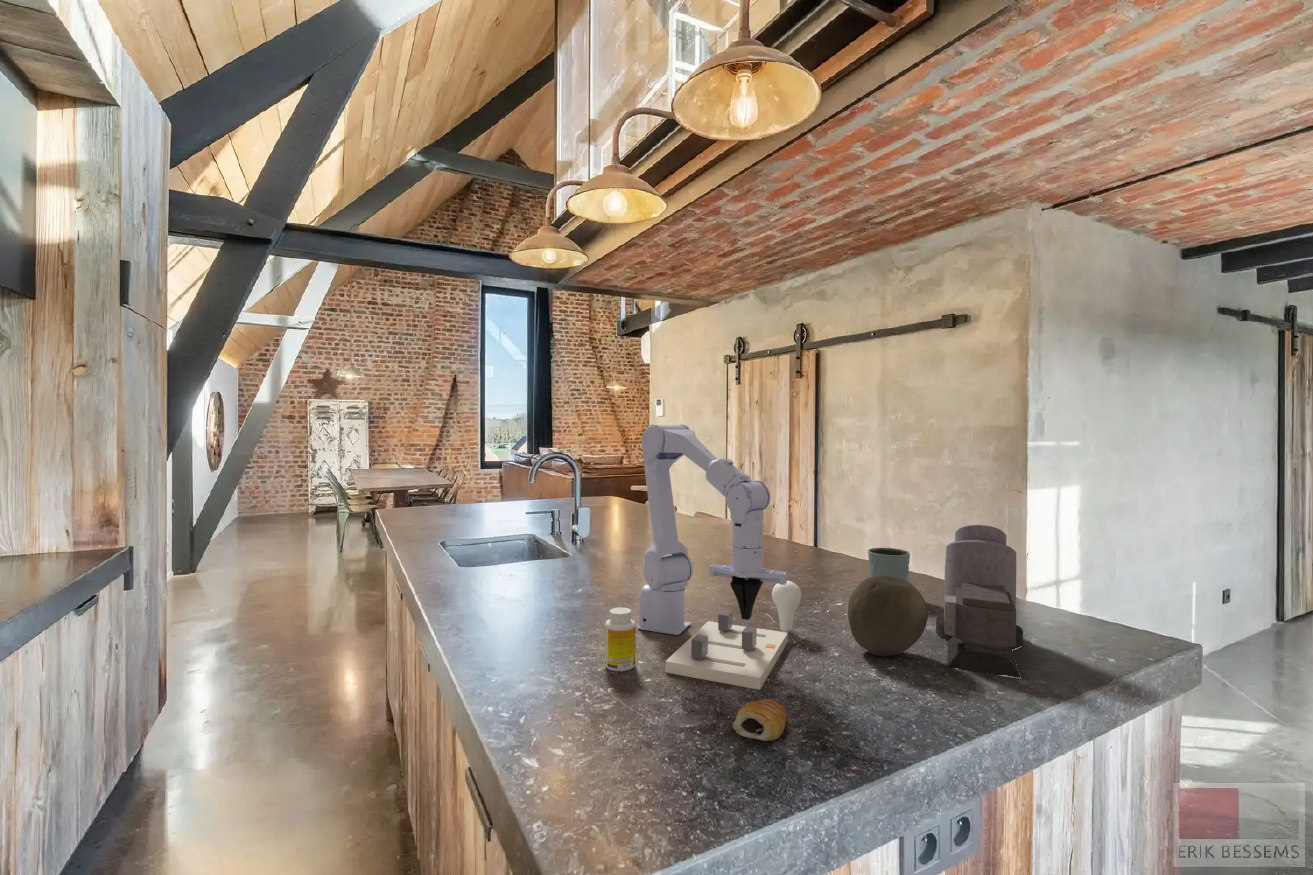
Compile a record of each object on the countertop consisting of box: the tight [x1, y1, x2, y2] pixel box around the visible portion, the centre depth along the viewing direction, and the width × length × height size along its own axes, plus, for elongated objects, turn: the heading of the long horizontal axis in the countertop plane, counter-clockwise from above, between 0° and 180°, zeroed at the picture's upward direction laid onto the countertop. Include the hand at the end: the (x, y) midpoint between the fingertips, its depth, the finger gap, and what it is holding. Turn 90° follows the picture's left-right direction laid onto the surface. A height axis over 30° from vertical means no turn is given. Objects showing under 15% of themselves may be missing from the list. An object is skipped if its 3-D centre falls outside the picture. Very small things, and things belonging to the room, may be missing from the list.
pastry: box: [732, 698, 787, 742], centre depth 87 cm, size 9×7×4 cm
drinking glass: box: [867, 547, 911, 582], centre depth 154 cm, size 10×10×12 cm
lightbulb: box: [771, 580, 802, 633], centre depth 127 cm, size 6×6×11 cm
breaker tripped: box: [742, 626, 757, 650], centre depth 112 cm, size 2×3×3 cm, turn 157°
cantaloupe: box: [847, 575, 929, 657], centre depth 115 cm, size 14×14×15 cm
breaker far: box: [717, 609, 733, 631], centre depth 122 cm, size 2×3×3 cm, turn 157°
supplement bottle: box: [604, 607, 637, 673], centre depth 108 cm, size 6×6×10 cm
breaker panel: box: [664, 620, 789, 691], centre depth 113 cm, size 17×24×2 cm
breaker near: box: [691, 634, 708, 660], centre depth 107 cm, size 2×3×3 cm, turn 157°
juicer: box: [935, 524, 1024, 678], centre depth 120 cm, size 30×16×24 cm, turn 154°
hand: (746, 617), depth 112 cm, fingers closed
